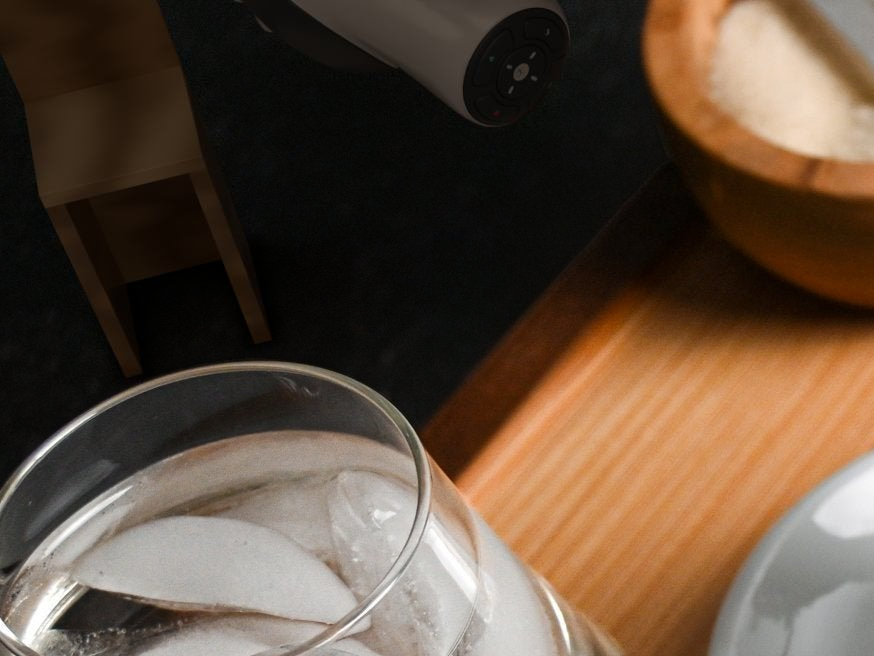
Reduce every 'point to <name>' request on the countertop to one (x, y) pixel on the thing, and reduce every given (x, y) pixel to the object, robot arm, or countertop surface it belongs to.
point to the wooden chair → (122, 155)
